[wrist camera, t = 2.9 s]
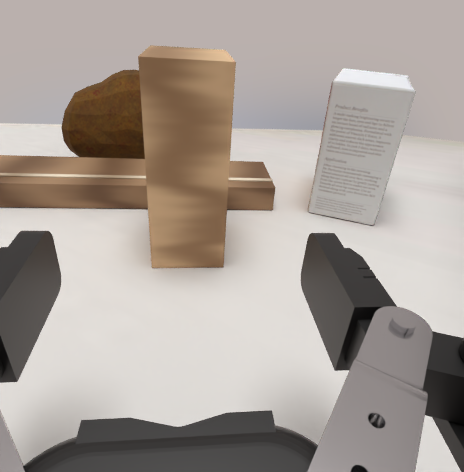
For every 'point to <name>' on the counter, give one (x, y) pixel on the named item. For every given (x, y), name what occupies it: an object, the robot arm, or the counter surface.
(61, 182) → the walnut board
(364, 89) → the small box
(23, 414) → the counter surface
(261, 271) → the counter surface
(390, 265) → the counter surface
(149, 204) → the tan block
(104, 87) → the potato
